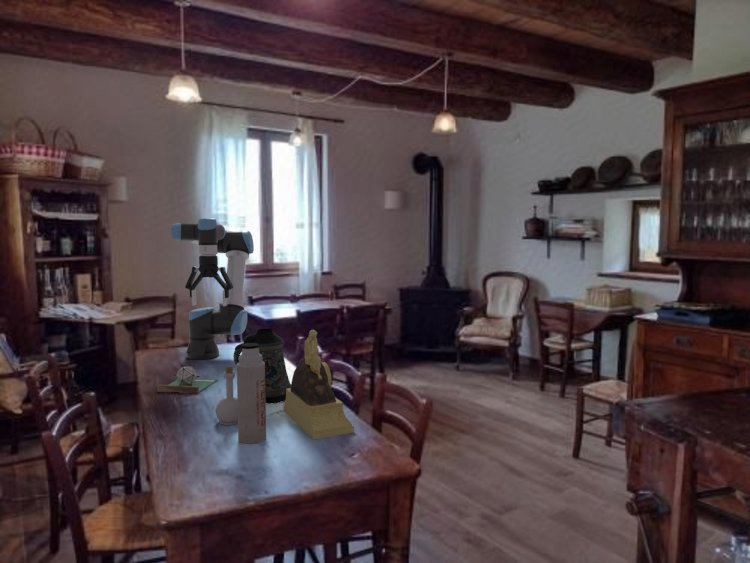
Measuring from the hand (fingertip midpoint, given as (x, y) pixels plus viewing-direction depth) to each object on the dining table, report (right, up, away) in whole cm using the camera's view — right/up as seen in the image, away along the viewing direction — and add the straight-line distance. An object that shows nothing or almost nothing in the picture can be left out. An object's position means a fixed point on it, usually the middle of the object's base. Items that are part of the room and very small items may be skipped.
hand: (209, 305), depth 235 cm
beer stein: (+30, -32, -34) cm, 56 cm away
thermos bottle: (+34, -36, -72) cm, 88 cm away
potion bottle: (+24, -35, -58) cm, 71 cm away
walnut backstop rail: (-4, -31, -27) cm, 41 cm away
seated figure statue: (+51, -35, -58) cm, 85 cm away
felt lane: (-3, -31, -18) cm, 35 cm away
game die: (-3, -30, -19) cm, 36 cm away
